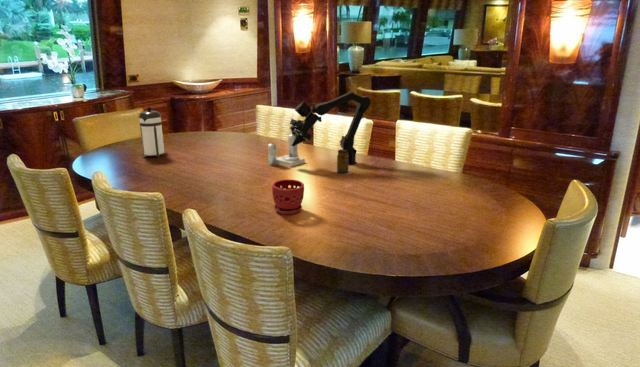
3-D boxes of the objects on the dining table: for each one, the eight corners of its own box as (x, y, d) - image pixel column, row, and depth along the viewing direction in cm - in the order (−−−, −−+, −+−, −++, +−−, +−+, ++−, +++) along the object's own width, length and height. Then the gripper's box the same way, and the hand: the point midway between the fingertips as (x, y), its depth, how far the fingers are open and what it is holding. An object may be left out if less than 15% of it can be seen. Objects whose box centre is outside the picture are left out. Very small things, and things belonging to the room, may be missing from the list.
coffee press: (172, 156, 283) (167, 107, 274) (145, 160, 275) (139, 109, 266) (163, 150, 297) (158, 103, 288) (137, 154, 289) (131, 105, 279)
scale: (304, 162, 269) (304, 156, 268) (290, 166, 260) (290, 161, 259) (287, 158, 277) (286, 153, 276) (272, 162, 269) (272, 157, 268)
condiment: (346, 169, 255) (346, 148, 251) (352, 173, 247) (352, 151, 244) (333, 170, 253) (333, 149, 249) (339, 175, 245) (340, 152, 241)
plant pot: (267, 214, 191) (266, 186, 188) (281, 204, 203) (280, 177, 199) (296, 218, 187) (296, 190, 183) (309, 207, 198) (308, 180, 195)
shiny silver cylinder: (299, 156, 256) (298, 134, 252) (293, 157, 253) (292, 136, 249) (293, 154, 259) (293, 133, 256) (287, 156, 256) (286, 134, 253)
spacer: (278, 164, 265) (278, 144, 261) (272, 166, 261) (272, 145, 258) (272, 163, 268) (272, 142, 264) (266, 165, 264) (266, 144, 261)
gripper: (292, 110, 259) (274, 132, 258) (305, 115, 243) (286, 139, 242) (305, 123, 264) (288, 144, 263) (319, 129, 248) (301, 151, 247)
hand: (290, 144), depth 254 cm, fingers closed on shiny silver cylinder, 5 cm apart
